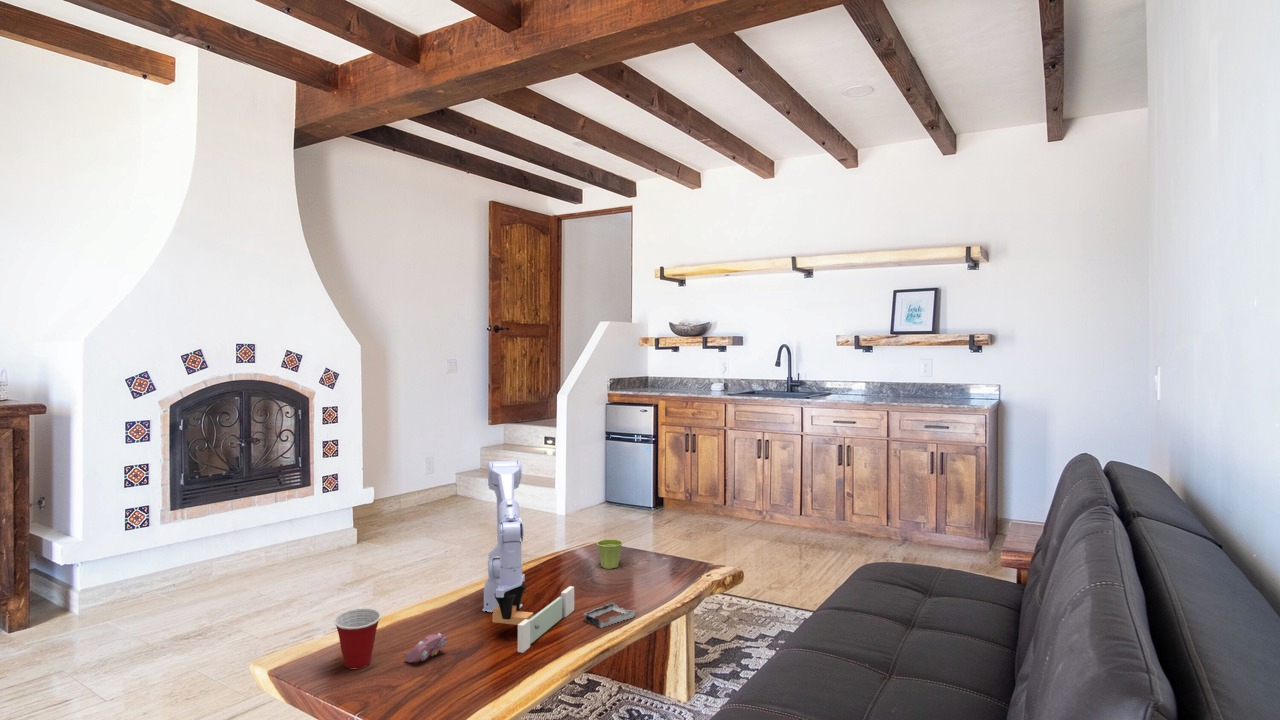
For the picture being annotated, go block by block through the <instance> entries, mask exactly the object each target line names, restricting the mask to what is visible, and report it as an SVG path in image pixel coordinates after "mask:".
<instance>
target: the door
mask: <svg viewBox="0 0 1280 720" xmlns="http://www.w3.org/2000/svg"><path fill="white" fill-rule="evenodd" d="M564 618H565V617H564V596H561V595H559V596H558V597H557V598H555V599H554V600H553V601H552V602H551V603H549V604H547V605H546V606H545V607H544V608H542V609H541V610H540V611H538V612H537V613H535V614H533V617H532V618H530V619H529V620H530V645H531V644H533V643H534V642H535V641H536V640H537V639H539V638H540V637H541V636H543V635H544V634H545V633H546V632H547V631H548V630H550V629H551V628H552V627H553V626H554V625H556V624H557V623H558V622H559V621H560V620H562V619H564Z"/></svg>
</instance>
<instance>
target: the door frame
mask: <svg viewBox="0 0 1280 720" xmlns="http://www.w3.org/2000/svg"><path fill="white" fill-rule="evenodd" d="M560 596H564V618H566V617H568V616H569V615H570V614H572V612H574V611H575V586H571V585H569V586H568V587H567V588H565V589H564V590H562V591H561V593H560ZM530 648H531V644H530V620H527V619H525V620H524V621H522V622H521V623H520V624H518V625H517V653H522V654H524V653H525V652H526V651H527V650H528V649H530Z"/></svg>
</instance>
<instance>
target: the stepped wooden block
mask: <svg viewBox="0 0 1280 720" xmlns="http://www.w3.org/2000/svg"><path fill="white" fill-rule="evenodd" d="M533 616H534V612H530V611H522V610H521V611H520V610H519V611H516V605H513V606H512V614H511V618H510V619H503V618H502V614H501V610H500V607H499V605H498V606H496V607H495V608H494V609H493V613H492V623H496V624H497V623H498V624H506V625H507V624H508V625H514V626H515V625H517V626H518V624H520V623H521V622H522V621H524V620H525V619H527V620H529V619H530V618H532V617H533Z"/></svg>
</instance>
